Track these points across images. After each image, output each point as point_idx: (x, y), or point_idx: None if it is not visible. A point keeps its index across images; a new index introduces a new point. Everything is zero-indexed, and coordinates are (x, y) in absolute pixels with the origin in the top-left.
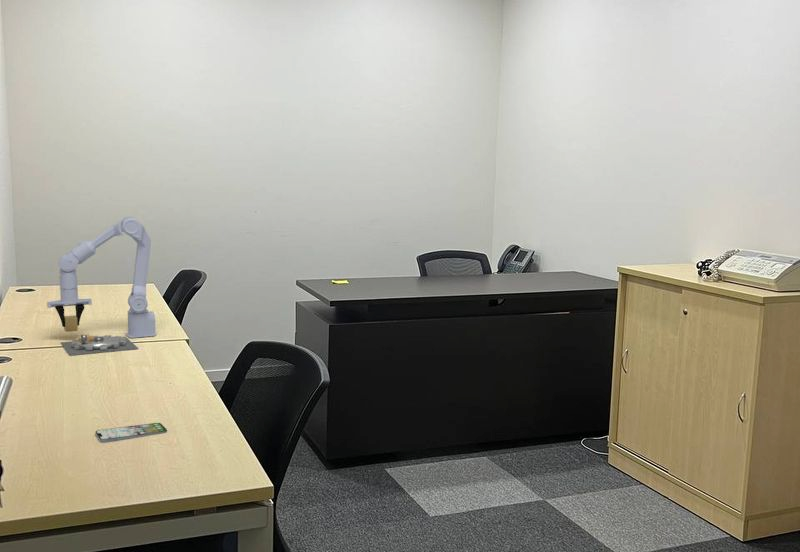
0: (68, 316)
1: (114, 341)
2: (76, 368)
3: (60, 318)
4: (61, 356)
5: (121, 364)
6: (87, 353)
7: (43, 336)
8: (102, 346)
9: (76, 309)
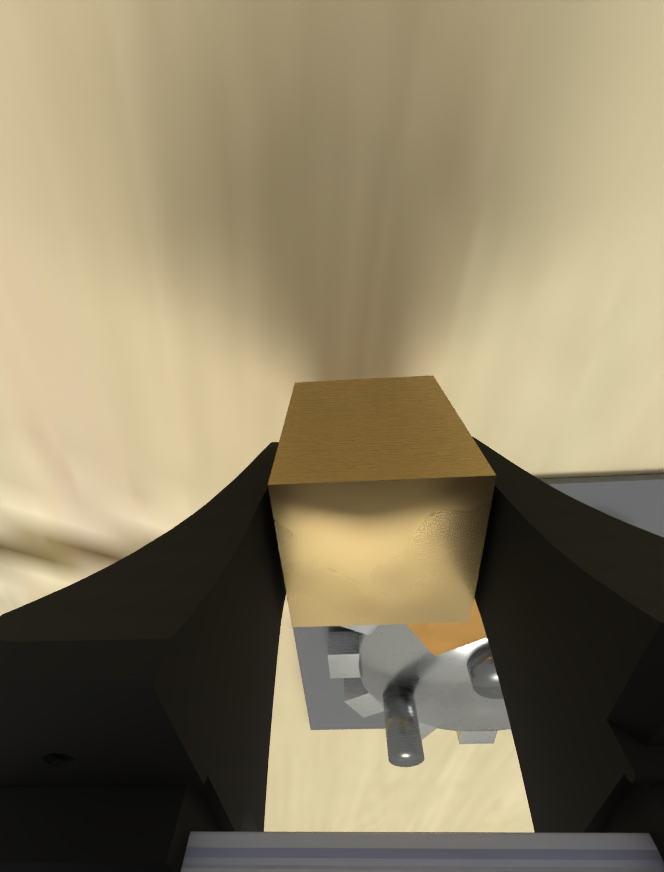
0: (353, 540)
1: None
2: (322, 819)
3: (222, 498)
4: (277, 719)
5: (460, 821)
6: None
7: (50, 33)
8: (469, 740)
9: (548, 691)
